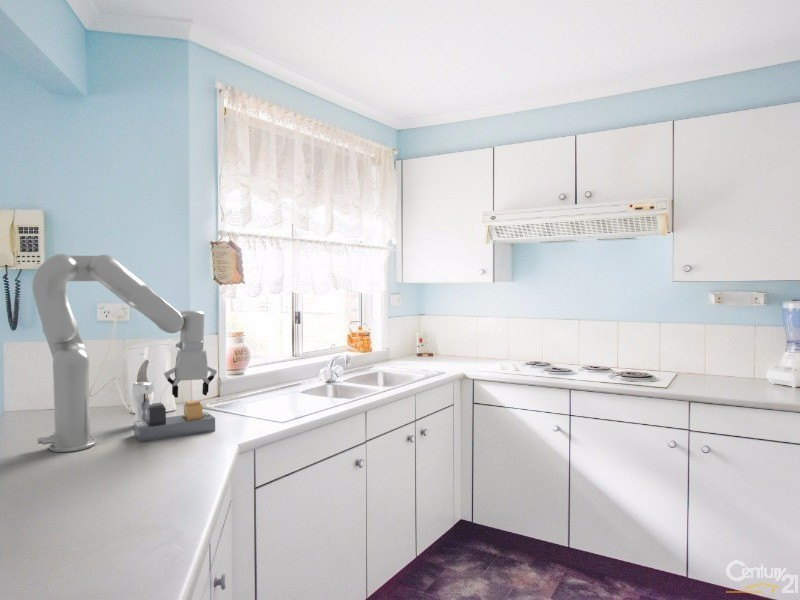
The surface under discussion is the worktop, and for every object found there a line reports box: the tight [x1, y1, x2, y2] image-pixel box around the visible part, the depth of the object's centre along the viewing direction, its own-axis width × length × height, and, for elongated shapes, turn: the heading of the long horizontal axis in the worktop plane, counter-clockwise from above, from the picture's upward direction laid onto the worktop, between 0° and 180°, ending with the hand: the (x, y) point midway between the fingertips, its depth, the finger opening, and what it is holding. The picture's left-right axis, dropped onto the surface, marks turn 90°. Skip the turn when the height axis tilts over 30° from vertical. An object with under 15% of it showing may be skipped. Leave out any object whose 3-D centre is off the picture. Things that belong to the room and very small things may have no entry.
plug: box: [183, 399, 203, 421], centre depth 193 cm, size 5×5×10 cm
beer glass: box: [131, 381, 155, 422], centre depth 200 cm, size 7×7×15 cm
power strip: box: [133, 402, 216, 443], centre depth 190 cm, size 24×10×10 cm, turn 125°
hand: (190, 395), depth 193 cm, fingers open, 9 cm apart
